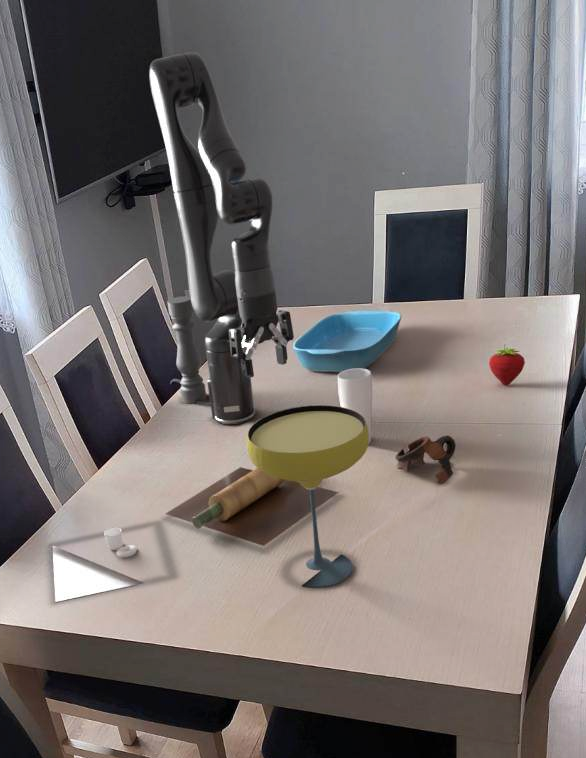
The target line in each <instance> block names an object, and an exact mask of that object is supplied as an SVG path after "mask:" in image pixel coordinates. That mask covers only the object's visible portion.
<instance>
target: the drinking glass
mask: <svg viewBox="0 0 586 758" xmlns="http://www.w3.org/2000/svg"><path fill="white" fill-rule="evenodd" d="M337 393H338V400H339V407H343V408H347V409H351V410H353V411H355V412H357V413H359V414H360V415H362V416H363V417H364V419H365V421H366V423H367V426H368V432H369V442H368V444H370V443H371V442H372V413H373V412H372V411H373V379H372V372H371V370H370V369H367V368H364V369H362V368H354V369H348V370H344V371H342V372H338V374H337Z"/></svg>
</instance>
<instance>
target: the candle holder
mask: <svg viewBox="0 0 586 758" xmlns="http://www.w3.org/2000/svg"><path fill="white" fill-rule="evenodd" d="M167 309H168V315H169V316H170V319H171V320H172V322H173V324H172V330H173V331H175V335H176V340H177V341H176V342H177V349H176V350H177V351H176V361H175V362H176V363H175V365H176V368H177V369H178V371H179V372H180V373H181V376H182V377H181V379H180V380H181V382H180V383H179V384H180V385H181V386H180V388H179V389H180V390H179V391H180V396H181V401H182V403H184V404H188V405H189V404H191V405H192V404H197V403H196V402H195V401H196V400H200V401H203V402H204V401H205V400H206V399H207V397H208V395H207V391H206V384H205V383H204V378H203V377H202V376H201V375H200V369H201V366H202V359H201V356H200V354H199V351H198V348H197V346H196V344H195V341H194V334H193V328H194V327H195V323H194V322H193V321H191V319H192V316H193V311H194V309H193V306H192V303H191V299H190V296H187V295H185V296H184V295H183V296H176V297H173V298H170V299H168V300H167Z"/></svg>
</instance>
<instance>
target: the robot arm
mask: <svg viewBox="0 0 586 758" xmlns="http://www.w3.org/2000/svg"><path fill="white" fill-rule="evenodd" d="M148 70H149V71H148V75H149V86H150V91H151V96H152V100H153V104H154V108H155V111H156V115H157V119H158V123H159V127H160V131H161V135H162V138H163V143H164V146H165V147H164V148H165V152H166V157H167V161H168V168H169V174H170V179H171V186H172V192H173V197H174V202H175V208H176V212H177V216H178V221H179V227H180V231H181V237H182V242H183V249H184V256H185V263H186V264H185V265H186V275H187V283H188V294H189V297H190V299H191V303H192V308H193V311H194V313H195V315H196V317H197V318H198V319H199V320H201V321H203V322H205V323H209V322H213V321H216V322H215V324H214V325H213V327H212V328H211V329H209V331H208V332H207V333H206V335H205V336H204V346H205V354H206V359H207V360H206V361H207V368H208V373H209V378H208V379H207V381H206V383H207V388H208V397H209V402H207V401H204V400H203V401H200V400H196V401H195V402H196V403H195V404H198V405H203V406H208V407H210V411H211V416H212V417H211V418H212V419H213V420H215V421H216V422H217V423H218V424H221V425H237V424H242V423H246V422H249V421H250V420H252V419H254V418H255V417H256V409H255V403H254V394H253V386H252V378H254V376H255V373H254V366H253V360H252V356H253V353H254V351H255V350H256V349H257V347H258V345H260V344H263V343H264V342H266V341H272V342H273V343H275V346H274V347H275V357H276V362H277V364H278V365H283V366H284V365H286V364H287V363H288V358H289V357H288V349H287V345H288V343H289V342H290V341H293V340H294V338H295V335H294V329H293V322H292V316H291V312H290V311H287V310H281V309H279V310H278V303H277V301H278V300H277V294H276V285H275V276H274V273H273V272H274V271H273V269H272V262H271V252H270V246H269V243H270V242H269V241H270V240H269V239H270V229H271V220H272V214H273V208H274V195H273V190H272V187H271V186H270V183H268V182H267V180H266V179H263V178H261V177H254V178H250V179H247V180H242V179H243V178H244V177H245V175H246V173H247V164H246V161H245V159H244V157H243V155H242V153H241V151H240V149H239V147H238V145H237V143H236V141H235V140H234V137H233V135H232V134H231V131H230V129H229V126H228V124H227V121H226V119H225V115H224V112H223V109H222V106H221V102H220V99H219V95H218V93H217V91H216V88H215V85H214V82H213V78H212V76H211V73H210V70H209V68H208V66H207V63H206V62H205V60H204V58H203V57H202V55H200V54H199V53H198V52H195V51H193V52H191V51H190V52H184V53H179V54H174V55H170V56H165V57H160V58H156V59H153V60H152V62H151V63H150V65H149V69H148ZM195 105H198V106H199V107H200V108H201V111H202V115H201V122H200V126H199V130H198V135H197V147H196V146H195V145H194V144H193V143H192V142H191V140H190V139H189V137H188V136H187V134H186V132H185V131H184V128H183V126H182V124H181V123H182V122H180V121H181V120H180V118H179V115H178V110H177V109H181V108H186V107H190V106H195ZM241 180H242V181H241ZM220 220H221V221H223V223H225V224H227V225H238V224H243V223H247V222H250V224H249V226H248V229H247V230H246V231H244V233H242V234H239V235H237V236H236V237H234V238H233V239H232V241H231V253H232V254H231V255H232V261H233V269H234V271H233V270H231V269H225V270H221V271H218V272H215V273H213V267H212V265H213V263H212V249H213V248H212V247H213V242H214V239H215V235H216V232H217V229H218V225H219V221H220ZM278 324H279V329H278V328H277V326H278ZM181 380H182V379H179V378H173V379H172V380H170V383H169V384H170V385H175V383H177V384H180V382H181Z"/></svg>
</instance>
